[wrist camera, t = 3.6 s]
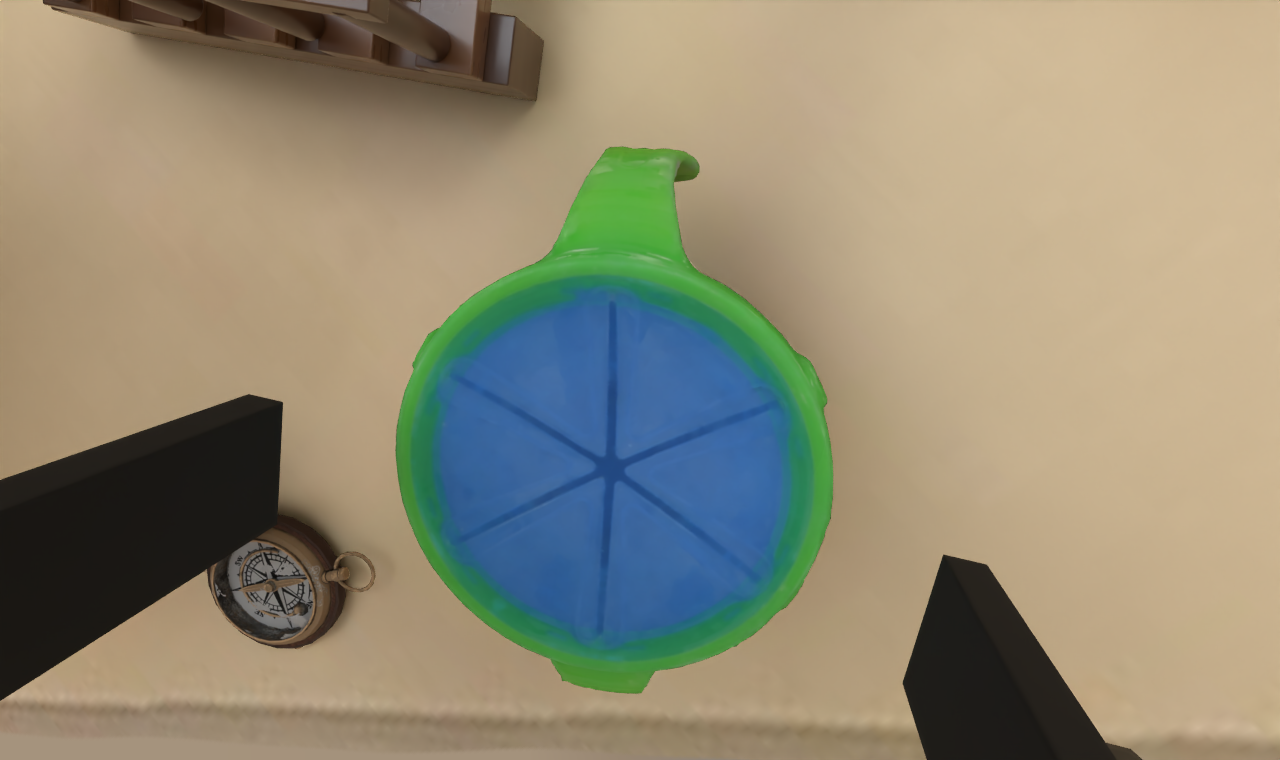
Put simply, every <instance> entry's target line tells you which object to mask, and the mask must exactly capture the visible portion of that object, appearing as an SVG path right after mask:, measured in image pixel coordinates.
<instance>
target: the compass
mask: <svg viewBox="0 0 1280 760" xmlns="http://www.w3.org/2000/svg"><path fill="white" fill-rule="evenodd" d="M347 555H355V556H358V557H360V558H362V559H363V560H364V561H365V562H366V563H367V564H368V565H369V567H370V569H371V574H372V577H371V581H370V583H369V584H368V585H367V586H366V587H364V588H361V589H357V588H352V587H350V586H347V585H346V584H345V580H347V579H348V577H349V574H350V573H349V570H348V568H346V567H343V568H341V566H340V563H339V561H340V560H341V559H342V557H345V556H347ZM207 574H208V583H209V587H210V590H211V593H212V595H213V598H214V600H215V603H216V605H217V606H218V608H219V609H220V610H221V612H222V613H223V615H224V616H225V618H226V619H227V620H228V621H229V622H230V623H231V624H232V625H233V626H234V627H235V628H237V629H238V630H239V631H240V632H241V633H242V634H244V635H246V636H247V637H249V638H251V639H253V640H255V641H256V642H258V643H261V644H264V645H268V646H271V647H275V648H295V649H299V648H301V647H303V646H305V645H308V644H311V643H313V642H314V641H316V640H317V639H318V638H320V637H321V636H322V635H324V634H325V633H326V632H327V631H328V630H329V629H330V628H331V627H332V626H333V625H334V623H335V622H336V620H337V619H338V617H339V616H340V614H341V612H342V609H343V605H344V601H345V597H346V594H345V589H347V590H349V591H352V592H363V591H366V590H368V589H369V588H370V587H371V586H372V585H373V584H374V580H375V569H374V566H373V565H372V563H371V561H370V560H369V559H368V558H367V557H366V556H364V555H363V554H360V553H358V552H345V553H343V554H340V556H339V557H338V558H337V557H336V555H335V554H334V552H333V551H332V549H331V548H330V546H329V545H328V543H327V542H326V541H325V540H324V539H323V538H322V537H321V536H319V535H318V534H317V533H316V532H315V531H314V530H313V529H312V528H310V527H309V526H307V525H305V524H303V523H301V522H300V521H298V520H296V519H294V518H291V517H287V516H283V515H279V514H278V517H277V525H275V526H274V527H272V528H271V529H269V530H268V531H266V532H264V533H263V534H261V535H260V536H258V537H257V538H255V539H254V540H252V541H250V542H249V543H247V544H246V545H244V546H243V547H241V548H239V549H238V550H236V551H235V552H233V553H232V554H230V555H228V556H227V557H225V558H224V559H222V560H221V561H219V562H217V563H216V564H214V565H213V566H211V567H210V568H208V569H207Z"/></svg>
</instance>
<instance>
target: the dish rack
mask: <svg viewBox="0 0 1280 760" xmlns="http://www.w3.org/2000/svg"><path fill="white" fill-rule="evenodd" d="M491 1H492V0H420V1H415V0H43V4H45V5H48V6H51V8H52V9H53V10H55V11H59V12H62V13H65V14H69V15H72V16H75V17H79V18H82V19H86V20H89V21H92V22H96V23H99V24H102V25H106V26H109V27H112V28H116V29H119V30H123V31H126V32H130V33H136V34H142V35H148V36H154V37H160V38H166V39H171V40H177V41H183V42H189V43H195V44H201V45H207V46H213V47H219V48H225V49H230V50H236V51H242V52H248V53H254V54H260V55H266V56H272V57H278V58H283V59H289V60H295V61H301V62H307V63H313V64H319V65H325V66H331V67H336V68H342V69H348V70H354V71H360V72H366V73H372V74H378V75H384V76H390V77H395V78H401V79H407V80H413V81H419V82H425V83H431V84H437V85H443V86H448V87H454V88H460V89H466V90H472V91H478V92H484V93H490V94H496V95H501V96H507V97H513V98H519V99H525V100H531V101H536V98H537V91H538V83H539V75H540V67H541V60H542V52H543V44H544V40H542V39H541V38H540V37H539V36H538V35H537V34H535V33H534V32H533V31H532V30H531V29H530V28H528V27H527V26H526V25H525V24H524V23H523V22H521V21H520V20H519V19H518V18H517V17H515V16H510V15H504V14H498V13H491V12H490V10H491Z"/></svg>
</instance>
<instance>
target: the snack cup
mask: <svg viewBox="0 0 1280 760" xmlns="http://www.w3.org/2000/svg"><path fill="white" fill-rule="evenodd" d="M698 173H699V164H698V162H697V160H696V159H695V158H694V157H692V156H690V155H689V154H687V153H686V152H684V151H679V150H672V149H655V150H653V149H647V148H639V149H632V148H627V147H610V148H608V149H606V150H605V152H604V153H603V155H602V156H601V157H600V159H599V160H598V161H597V163H596V164H595V166H594V167H593V168H592V169H591V171H590V173H589V175H588V176H587V177H586V179H585V181H584V183H583V185H582V187H581V189H580V191H579V193H578V195H577V197H576V199H575V201H574V203H573V205H572V207H571V209H570V211H569V214H568V216H567V218H566V221H565V223H564V225H563V228H562V230H561V232H560V235H559V237H558V240H557V241H556V243H555V244H554V246H553V249H552V250H551V251H550V253H549V254H548V255H546V256H545V257H544V258H543V259H542V260H540V261H538V262H536V263H535V264H533V265H530V266H527V267H525V268H523V269H520V270H518V271H516V272H514V273H511V274H509V275H507V276H505V277H503V278H501V279H499V280H497V281H496V282H494V283H493V284H491V285H489V286H488V287H486V288H484V289H483V290H481V291H479V292H478V293H476V294H475V295H473V296H472V297H471V298H469V299H468V300H467V301H466V302H465V303H463V304H462V305H460V307H459V308H458V309H457V310H456V311H455V312H454V313H453V314H452V315H450V316H449V317H448V319H447V320H446V321H445V322H444V324H443V325H442V326H441V327H440V328H438V329H436V330H434V331H433V332H431V333H430V334H428V336H427V338H426V339H425V341H424V343H423V345H422V346H421V348H420V350H419V352H418V353H417V355H416V358H415V361H414V362H413V368H414V370H413V373H412V376H411V378H410V380H409V383H408V385H407V387H406V390H405V393H404V396H403V400H402V405H401V409H400V414H399V419H398V424H397V433H396V463H397V472H398V480H399V486H400V491H401V496H402V501H403V504H404V507H405V510H406V513H407V516H408V519H409V522H410V524H411V526H412V529H413V532H414V534H415V536H416V538H417V541H418V543H419V545H420V547H421V549H422V550H423V552H424V554H425V556H426V557H427V559H428V561H429V563H430V564H431V566H432V567H433V569H434V570H435V571H436V573H437V574H438V575H439V576H440V578H441V579H442V581H443V582H444V583H445V584H446V585H447V587H448V588H449V589H450V590H451V591H452V592H453V594H454V595H455V596H456V597H457V598H458V599H459V600H460V601H461V602H462V603H463V604H464V605H465V606H466V607H467V608H468V609H469V610H470V611H471V612H472V613H474V614H475V615H476V616H477V617H478V618H479V619H481V620H482V621H483V622H484V623H485V624H487V625H488V626H489V627H491V628H492V629H494V630H495V631H497V632H498V633H499V634H501V635H502V636H504V637H505V638H507V639H509V640H511V641H512V642H514V643H516V644H518V645H520V646H521V647H523V648H525V649H527V650H530V651H532V652H535V653H537V654H539V655H542V656H544V657H547V658H549V659H551V662H552V663H553V665H554V666H555V668H556V670H557V671H558V673H559V674H560V675H561V678H562V681H568V682H570V683H572V684H574V685H577V686H581V687H585V688H591V689H595V690H602V691H609V692H616V693H635V694H636V693H642V691H643V689H644V688H645V687H646V686H647V684H648V682H649V680H650V678H651V677H652V675H653V674H654V672H655V671H658V670H667V669H673V668H678V667H683V666H685V665H689V664H693V663H696V662H699V661H702V660H705V659H707V658H710V657H712V656H715V655H718V654H720V653H722V652H724V651H726V650H728V649H729V648H731V647H735V646H737V645H738V644H739V643H740V642H742V641H744V640H746V639H747V638H749V637H751V636H752V635H754V634H755V633H756V632H757V631H758V630H760V629H761V628H762V627H763V626H764V625H765V624H766V623H767V622H768V621H769V620H770V619H771V618H772V617H773V616H774V615H775V614H776V613H777V612H779V611H780V610H782V609H784V608H786V607H787V606H788V604H789V603H790V602H791V601H792V600H793V598H794V597H795V596H796V595H797V593H798V591H799V589H800V588H801V587H802V585H803V582H804V579H805V577H806V576H807V574H808V572H809V570H810V568H811V566H812V564H813V563H814V561H815V558H816V556H817V553H818V551H819V549H820V546H821V544H822V542H823V539H824V536H825V531H826V529H827V526H828V524H829V521H830V519H831V508H832V500H833V460H832V452H831V444H830V438H829V433H828V428H827V423H826V420H825V416H824V409H823V408H824V407H825V405H826V404H827V396H826V394H825V392H824V389H823V387H822V385H821V382H820V380H819V378H818V376H817V374H816V372H815V369H814V367H813V365H812V364H811V362H810V361H809V360H808V359H807V358H806V357H804V356H802V355H800V354H798V353H797V352H796V351H794V350H793V349H792V347H791V346H790V345H789V343H788V342H787V340H786V339H785V338H784V337H783V335H782V334H781V333H780V332H779V331H778V330H777V329H776V328H775V327H774V326H773V325H772V324H771V323H770V322H769V321H768V320H767V319H766V318H765V317H764V316H763V315H762V314H761V313H760V312H759V311H758V310H757V309H756V308H754V307H753V306H752V305H751V304H750V303H749V302H748V301H747V300H746V299H744V298H743V297H741V296H740V295H738V294H737V293H736V292H734V291H733V290H731V289H730V288H728V287H727V286H726V285H724V284H722V283H720V282H718V281H716V280H714V279H712V278H710V277H708V276H706V275H704V274H702V273H700V272H699V271H698V270H697V269H695V268H694V267H693V266H692V265H691V263H690V261H689V260H688V258H687V256H686V254H685V252H684V249H683V247H682V243H681V236H680V229H679V224H678V218H677V212H676V205H675V192H674V182H678V181H686V180H692V179H694V178H695V177H697V175H698Z"/></svg>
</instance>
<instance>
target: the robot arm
mask: <svg viewBox="0 0 1280 760" xmlns="http://www.w3.org/2000/svg"><path fill="white" fill-rule="evenodd" d="M282 411H283V402H280V401H276V400H271V399H267V398H263V397H258V396H254V395H250V394H248V395H245V396H242V397H239V398H237V399H234V400H231V401H228V402H225V403H222V404H219V405H216V406H213V407H210V408H208V409H205V410H202V411H199V412H196V413H193V414H190V415H187V416H184V417H181V418H179V419H176V420H173V421H170V422H167V423H164V424H161V425H158V426H155V427H152V428H150V429H147V430H144V431H141V432H138V433H135V434H132V435H129V436H126V437H123V438H121V439H118V440H115V441H112V442H109V443H106V444H103V445H100V446H97V447H94V448H92V449H89V450H86V451H83V452H80V453H77V454H74V455H71V456H68V457H66V458H63V459H60V460H57V461H54V462H51V463H48V464H45V465H42V466H39V467H37V468H34V469H31V470H28V471H25V472H22V473H19V474H16V475H13V476H10V477H8V478H5V479H2V480H0V701H1V700H2V699H4V698H5V697H7V696H9V695H10V694H12V693H13V692H15V691H16V690H18V689H20V688H21V687H23V686H24V685H26V684H27V683H29V682H31V681H32V680H34V679H35V678H37V677H38V676H40V675H42V674H43V673H45V672H46V671H48V670H49V669H51V668H53V667H54V666H56V665H57V664H59V663H60V662H62V661H64V660H65V659H67V658H68V657H70V656H71V655H73V654H75V653H76V652H78V651H79V650H81V649H82V648H84V647H86V646H87V645H89V644H90V643H92V642H93V641H95V640H97V639H98V638H100V637H101V636H103V635H104V634H106V633H107V632H109V631H111V630H112V629H114V628H115V627H117V626H118V625H120V624H122V623H123V622H125V621H126V620H128V619H129V618H131V617H133V616H134V615H136V614H137V613H139V612H140V611H142V610H144V609H145V608H147V607H148V606H150V605H151V604H153V603H155V602H156V601H158V600H159V599H161V598H162V597H164V596H166V595H167V594H169V593H170V592H172V591H173V590H175V589H177V588H178V587H180V586H181V585H183V584H184V583H186V582H188V581H189V580H191V579H192V578H194V577H195V576H197V575H199V574H200V573H202V572H203V571H205V570H206V569H208V568H210V567H211V566H213V565H214V564H216V563H217V562H219V561H221V560H222V559H224V558H225V557H227V556H228V555H230V554H232V553H233V552H235V551H236V550H238V549H239V548H241V547H243V546H244V545H246V544H247V543H249V542H250V541H252V540H254V539H255V538H257V537H258V536H260V535H261V534H263V533H264V532H266V531H268V530H269V529H271V528H272V527H274V526H275V525H277V517H278V496H279V475H280V453H281V432H282ZM903 686H904V689H905V692H906V695H907V698H908V702H909V705H910V708H911V711H912V714H913V718H914V721H915V724H916V727H917V730H918V733H919V737H920V740H921V743H922V746H923V749H924V752H925V756H926V759H927V760H1142V759H1141V758H1140V757H1139V756H1138V755H1137V754H1136V753H1134V752H1133V751H1132V750H1131V749H1128V748H1124V747H1120V746H1116V745H1112V744H1109V743H1105V741H1104V740H1103V738H1102V737H1101V735H1100V734H1099V732H1098V731H1097V729H1096V728H1095V726H1094V725H1093V723H1092V722H1091V720H1090V719H1089V717H1088V716H1087V714H1086V713H1085V711H1084V710H1083V708H1082V707H1081V705H1080V704H1079V702H1078V701H1077V699H1076V698H1075V696H1074V695H1073V693H1072V692H1071V690H1070V689H1069V687H1068V686H1067V684H1066V683H1065V681H1064V680H1063V678H1062V677H1061V675H1060V674H1059V672H1058V671H1057V669H1056V668H1055V666H1054V665H1053V663H1052V662H1051V660H1050V659H1049V657H1048V656H1047V654H1046V653H1045V651H1044V650H1043V648H1042V647H1041V645H1040V644H1039V642H1038V641H1037V639H1036V638H1035V636H1034V635H1033V633H1032V632H1031V630H1030V629H1029V627H1028V626H1027V624H1026V623H1025V621H1024V620H1023V618H1022V617H1021V615H1020V614H1019V612H1018V611H1017V609H1016V608H1015V606H1014V605H1013V603H1012V602H1011V600H1010V599H1009V597H1008V596H1007V594H1006V593H1005V591H1004V590H1003V588H1002V587H1001V585H1000V584H999V582H998V581H997V579H996V578H995V576H994V575H993V573H992V572H991V570H990V569H989V567H988V566H987V565H986V564H982V563H977V562H973V561H969V560H964V559H960V558H956V557H951V556H947V555H943V557H942V560H941V564H940V567H939V570H938V573H937V576H936V579H935V583H934V586H933V589H932V592H931V595H930V598H929V601H928V605H927V608H926V611H925V614H924V617H923V620H922V623H921V627H920V630H919V633H918V636H917V639H916V642H915V645H914V649H913V652H912V655H911V658H910V661H909V664H908V667H907V671H906V674H905V677H904V680H903Z"/></svg>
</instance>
